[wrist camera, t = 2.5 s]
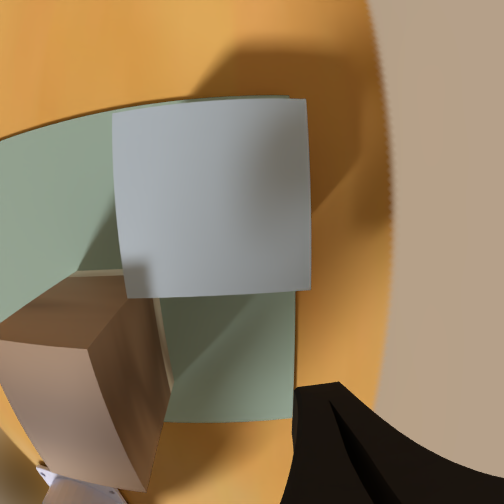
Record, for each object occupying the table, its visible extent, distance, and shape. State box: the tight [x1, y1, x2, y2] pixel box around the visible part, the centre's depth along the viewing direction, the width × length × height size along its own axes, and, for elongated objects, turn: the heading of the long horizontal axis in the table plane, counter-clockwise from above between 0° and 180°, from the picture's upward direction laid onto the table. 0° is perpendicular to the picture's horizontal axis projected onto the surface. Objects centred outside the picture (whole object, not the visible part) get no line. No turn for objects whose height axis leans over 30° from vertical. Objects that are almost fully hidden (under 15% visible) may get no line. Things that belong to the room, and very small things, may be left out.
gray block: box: [112, 98, 311, 298], centre depth 10 cm, size 5×5×5 cm
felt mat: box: [0, 95, 295, 423], centre depth 13 cm, size 16×18×1 cm
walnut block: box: [0, 269, 174, 493], centre depth 10 cm, size 6×4×7 cm, turn 2°
